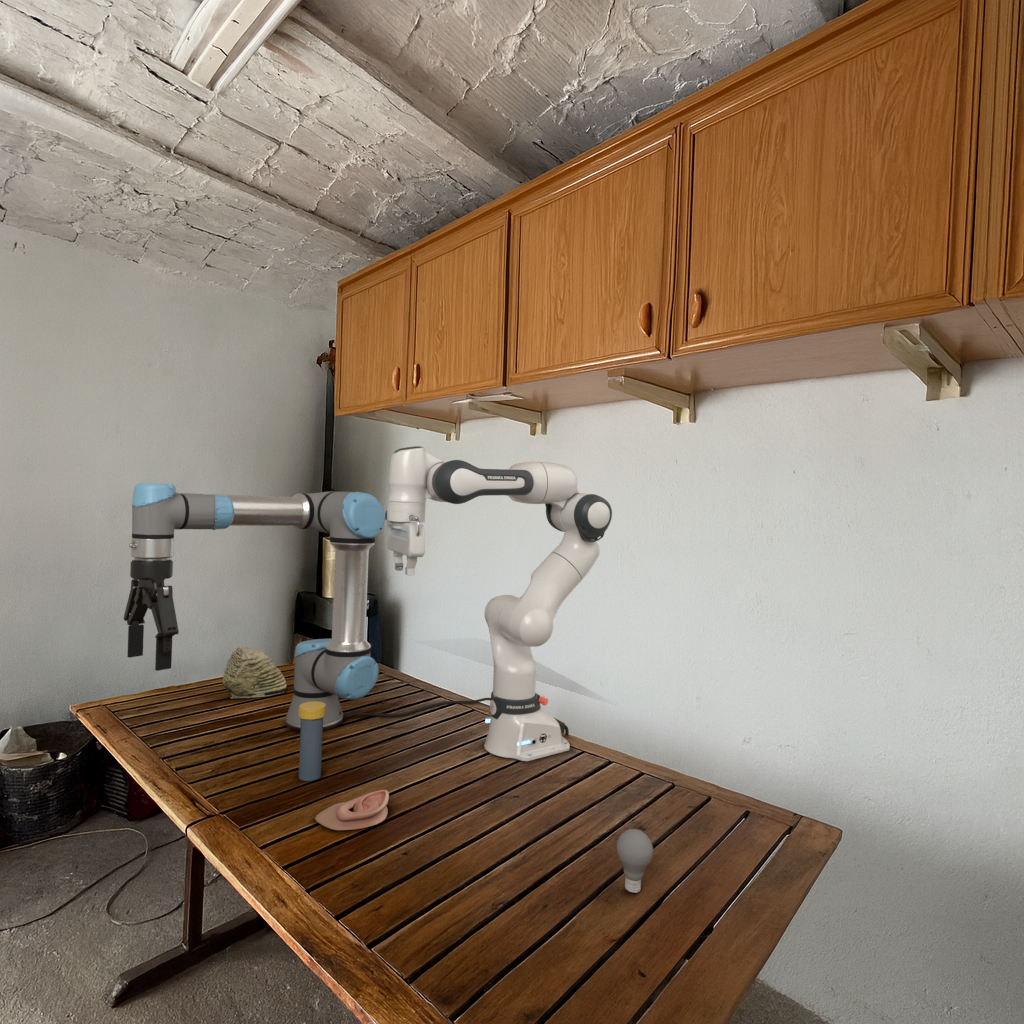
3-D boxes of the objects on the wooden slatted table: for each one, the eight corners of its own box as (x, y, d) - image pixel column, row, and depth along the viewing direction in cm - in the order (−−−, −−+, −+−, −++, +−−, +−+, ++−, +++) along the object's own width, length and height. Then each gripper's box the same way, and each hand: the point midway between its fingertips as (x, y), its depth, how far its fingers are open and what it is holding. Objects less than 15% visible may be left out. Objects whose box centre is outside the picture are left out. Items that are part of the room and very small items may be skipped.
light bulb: (610, 879, 108) (613, 822, 108) (644, 879, 109) (647, 822, 109) (619, 902, 102) (622, 840, 102) (655, 901, 103) (658, 840, 103)
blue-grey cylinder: (294, 779, 141) (296, 709, 141) (305, 770, 146) (308, 702, 146) (314, 782, 140) (316, 712, 140) (325, 773, 145) (327, 705, 145)
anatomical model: (307, 805, 121) (336, 780, 133) (306, 826, 121) (335, 798, 133) (372, 815, 119) (395, 788, 130) (371, 836, 119) (394, 807, 130)
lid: (293, 718, 141) (293, 707, 141) (307, 709, 146) (307, 700, 146) (317, 721, 139) (317, 710, 139) (330, 712, 145) (330, 702, 145)
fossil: (218, 695, 195) (220, 647, 195) (278, 685, 208) (279, 640, 207) (228, 703, 189) (230, 653, 188) (289, 692, 201) (290, 645, 201)
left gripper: (108, 554, 134) (104, 654, 134) (159, 565, 118) (155, 678, 119) (146, 552, 140) (143, 648, 140) (199, 563, 124) (195, 671, 124)
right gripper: (433, 516, 142) (430, 578, 142) (407, 513, 160) (405, 567, 161) (405, 516, 139) (403, 578, 140) (382, 512, 158) (380, 567, 158)
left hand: (148, 662), depth 129 cm, fingers open, 13 cm apart
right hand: (404, 572), depth 150 cm, fingers open, 8 cm apart
